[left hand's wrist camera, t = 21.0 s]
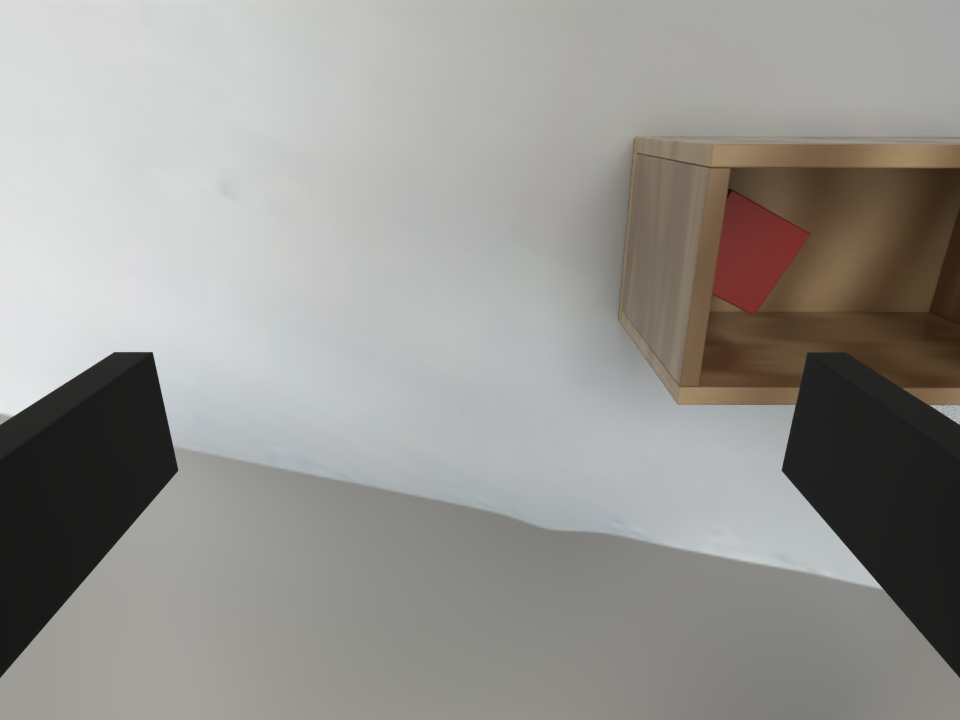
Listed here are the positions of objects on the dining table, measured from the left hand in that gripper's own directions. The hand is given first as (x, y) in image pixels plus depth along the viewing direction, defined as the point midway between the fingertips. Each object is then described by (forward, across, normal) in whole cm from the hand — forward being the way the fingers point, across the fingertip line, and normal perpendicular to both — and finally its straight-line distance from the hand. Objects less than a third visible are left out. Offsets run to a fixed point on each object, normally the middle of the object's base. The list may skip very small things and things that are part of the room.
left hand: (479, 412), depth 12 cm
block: (+20, +12, 0) cm, 23 cm away
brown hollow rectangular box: (+21, +16, 0) cm, 27 cm away
